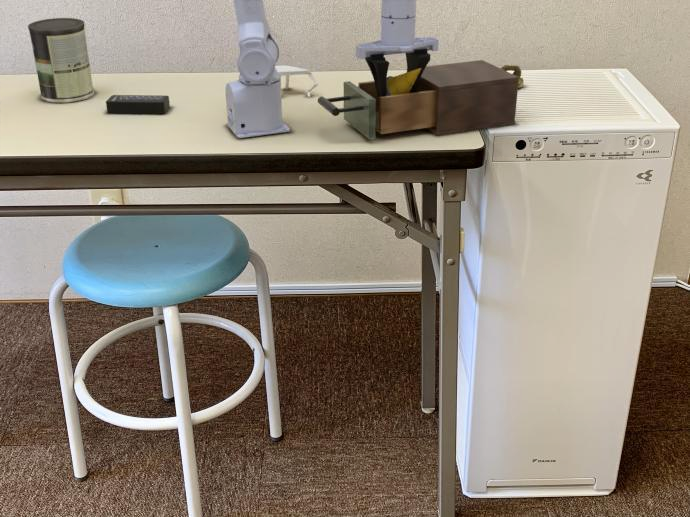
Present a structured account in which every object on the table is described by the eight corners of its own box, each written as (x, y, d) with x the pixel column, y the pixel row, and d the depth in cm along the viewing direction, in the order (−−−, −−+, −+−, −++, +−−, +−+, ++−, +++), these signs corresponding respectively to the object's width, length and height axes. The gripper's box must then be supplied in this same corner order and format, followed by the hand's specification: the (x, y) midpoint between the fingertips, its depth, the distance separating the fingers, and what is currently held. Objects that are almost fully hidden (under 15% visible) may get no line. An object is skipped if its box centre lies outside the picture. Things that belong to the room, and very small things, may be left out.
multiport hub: (164, 114, 155) (163, 102, 154) (106, 113, 155) (105, 101, 154) (170, 107, 159) (169, 95, 158) (113, 106, 159) (112, 94, 158)
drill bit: (395, 98, 150) (433, 65, 143) (394, 119, 147) (432, 86, 140) (372, 83, 147) (409, 49, 141) (370, 104, 144) (408, 70, 137)
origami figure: (255, 99, 163) (254, 74, 161) (263, 87, 170) (262, 63, 168) (316, 100, 162) (316, 75, 160) (321, 88, 169) (321, 64, 167)
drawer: (337, 143, 138) (336, 103, 135) (313, 123, 147) (312, 85, 144) (445, 128, 145) (447, 90, 141) (416, 109, 154) (417, 73, 151)
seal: (449, 96, 168) (524, 96, 166) (450, 73, 165) (527, 74, 164) (448, 78, 175) (520, 78, 174) (449, 56, 173) (522, 57, 171)
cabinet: (436, 135, 144) (439, 87, 140) (405, 114, 154) (406, 68, 150) (514, 124, 149) (519, 77, 145) (479, 104, 159) (482, 59, 155)
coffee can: (32, 102, 162) (18, 29, 155) (53, 87, 171) (41, 17, 164) (83, 103, 161) (71, 29, 154) (102, 88, 170) (92, 18, 163)
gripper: (367, 24, 133) (366, 106, 139) (448, 16, 137) (444, 96, 144) (350, 15, 138) (351, 95, 145) (429, 8, 143) (425, 86, 149)
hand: (396, 95), depth 145 cm, fingers closed on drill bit, 5 cm apart
